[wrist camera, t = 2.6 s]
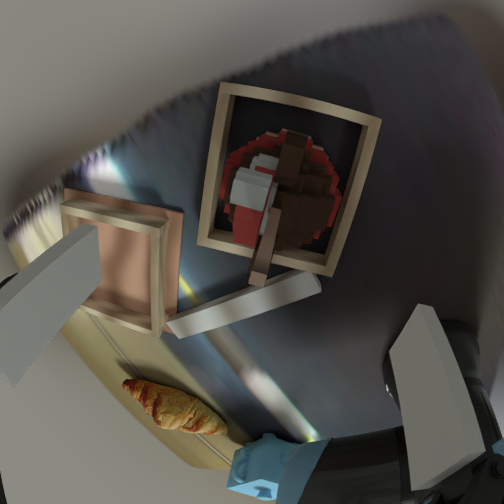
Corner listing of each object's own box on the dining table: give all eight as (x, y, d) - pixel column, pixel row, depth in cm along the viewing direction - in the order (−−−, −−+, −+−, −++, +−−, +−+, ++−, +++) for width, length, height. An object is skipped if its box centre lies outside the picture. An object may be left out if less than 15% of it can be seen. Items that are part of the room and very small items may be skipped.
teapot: (284, 462, 57) (277, 509, 46) (225, 440, 55) (212, 491, 43) (341, 437, 48) (340, 494, 37) (276, 411, 46) (266, 477, 35)
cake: (313, 238, 31) (316, 379, 15) (226, 213, 31) (151, 332, 16) (347, 140, 26) (411, 196, 10) (250, 112, 26) (170, 126, 10)
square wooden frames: (375, 117, 24) (383, 119, 22) (292, 361, 40) (290, 377, 37) (70, 78, 26) (54, 79, 23) (78, 298, 41) (68, 308, 39)
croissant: (239, 404, 52) (242, 428, 45) (215, 438, 53) (215, 463, 45) (137, 354, 50) (125, 373, 42) (119, 393, 50) (107, 414, 42)
